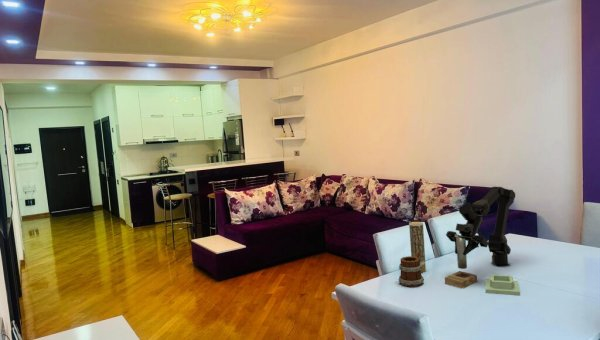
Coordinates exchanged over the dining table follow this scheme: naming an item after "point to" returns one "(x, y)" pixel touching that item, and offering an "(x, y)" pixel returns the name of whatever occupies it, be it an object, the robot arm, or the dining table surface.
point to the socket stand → (502, 285)
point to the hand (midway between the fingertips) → (459, 254)
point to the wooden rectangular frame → (461, 279)
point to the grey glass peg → (461, 252)
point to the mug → (411, 271)
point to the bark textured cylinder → (417, 242)
